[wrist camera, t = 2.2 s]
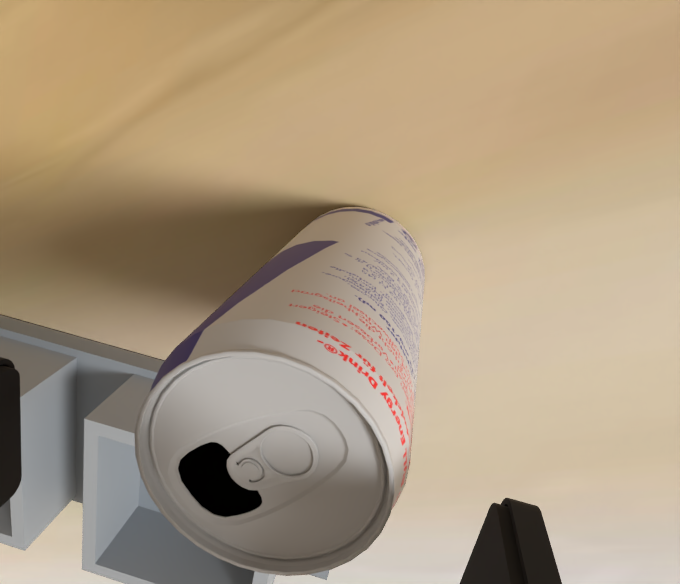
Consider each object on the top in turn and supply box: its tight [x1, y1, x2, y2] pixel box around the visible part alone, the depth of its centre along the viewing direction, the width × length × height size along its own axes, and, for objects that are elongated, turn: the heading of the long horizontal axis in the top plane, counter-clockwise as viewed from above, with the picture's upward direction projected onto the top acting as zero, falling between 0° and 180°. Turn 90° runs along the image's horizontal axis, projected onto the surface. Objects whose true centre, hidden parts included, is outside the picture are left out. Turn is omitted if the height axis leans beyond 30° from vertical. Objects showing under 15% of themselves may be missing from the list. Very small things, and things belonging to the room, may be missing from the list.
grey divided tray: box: [0, 315, 329, 584], centre depth 23 cm, size 24×9×6 cm, turn 78°
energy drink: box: [135, 207, 425, 576], centre depth 15 cm, size 5×5×12 cm
